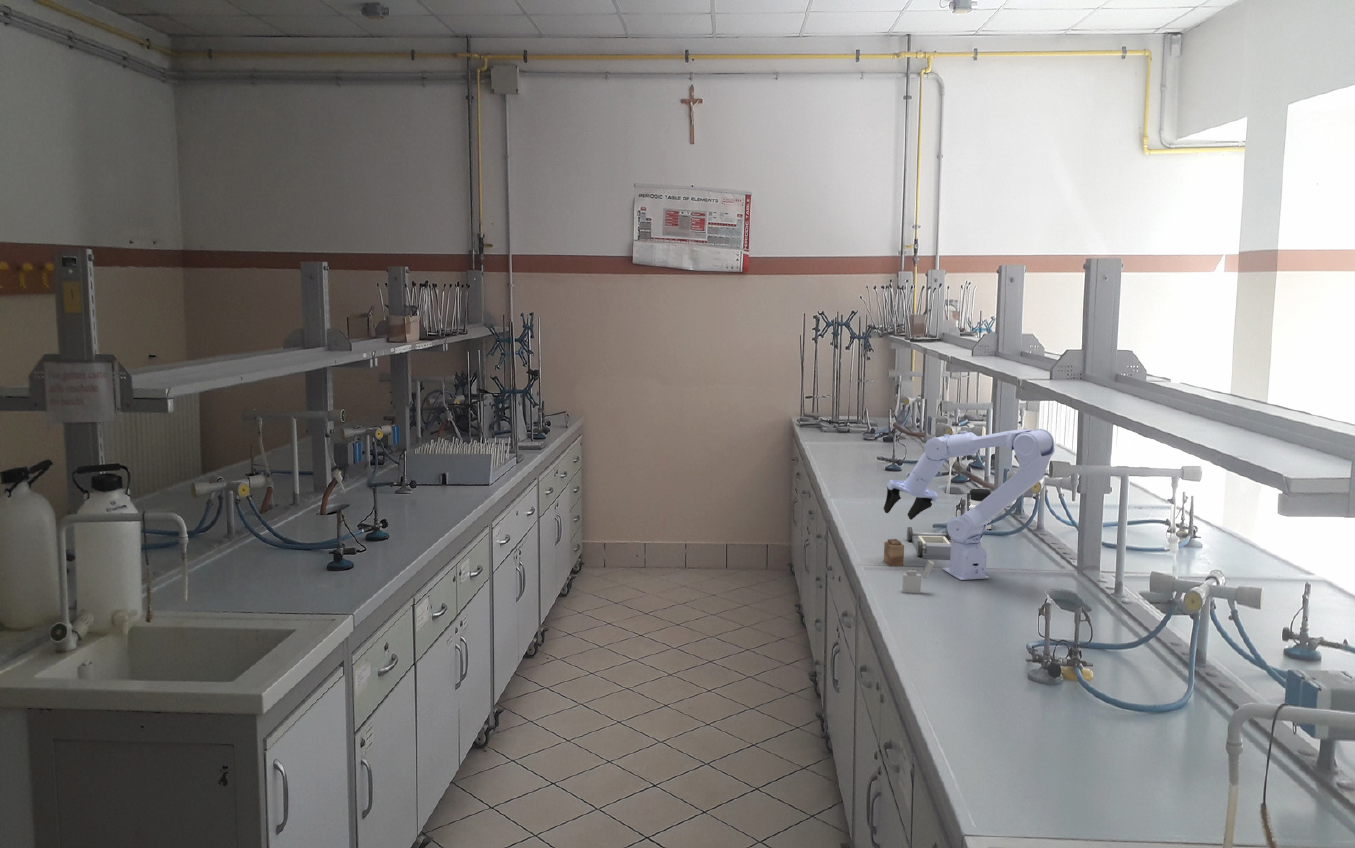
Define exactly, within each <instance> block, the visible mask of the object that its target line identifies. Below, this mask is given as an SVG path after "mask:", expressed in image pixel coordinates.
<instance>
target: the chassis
mask: <svg viewBox="0 0 1355 848" xmlns="http://www.w3.org/2000/svg"><path fill="white" fill-rule="evenodd" d="M949 539H950V536H949V534H948V531H947V527H945V530H944V532H941V533H940V532H915V531H914V532H913V527H912V526H911V527H910V526H908V527H906V540H907V542H911V543H912V545H913V546H914V547H915V549H916V556H917V557H918V556H919V557H921V558H922V560H924V559H925V560H927V559H928V560H950V553H951V541H950V542H949Z"/></svg>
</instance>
